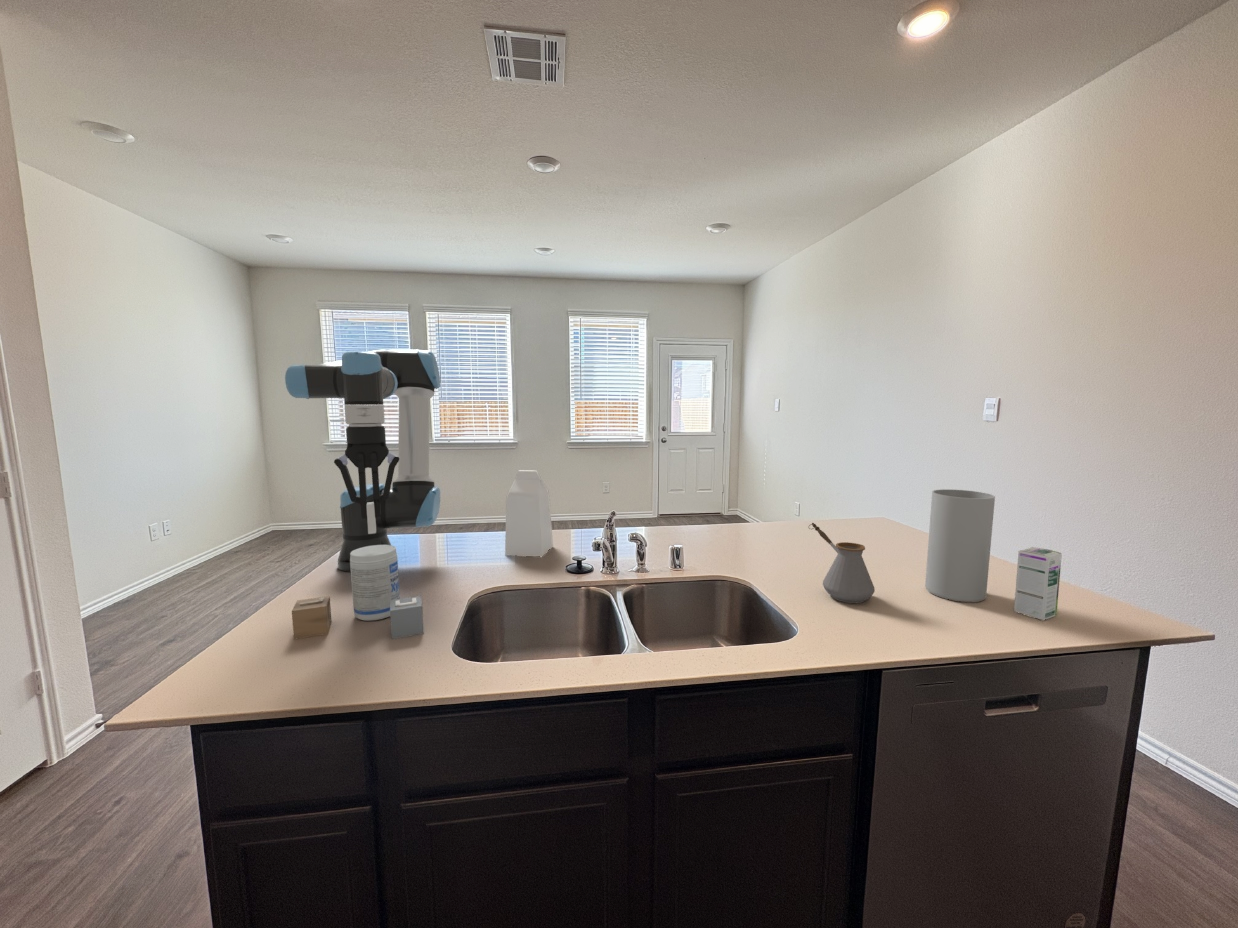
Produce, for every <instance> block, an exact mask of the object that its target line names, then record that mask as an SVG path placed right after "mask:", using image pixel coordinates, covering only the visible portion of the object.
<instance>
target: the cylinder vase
mask: <svg viewBox="0 0 1238 928" xmlns="http://www.w3.org/2000/svg"><path fill="white" fill-rule="evenodd" d="M995 499H996V495H994V494H992V493H991V494H990V493H986V492H982V491H974V490H964V489H943V488H942V489H934V490H932V491H931V502H930V503H931V504H930V515H929V531H928V541H927V542H928V543H927V544H928V545H927V557H926V568H925V569H926V572H925V584H924V587H925V589H926V590H927V591H928V592H929V593H930V594H932V595H934V596H937V597H938V596H939V598H942V599H945V600H948V599H949V601H954V602H959V601H961V602H960V603H978V602H982V601H983V600H985V599H986V598H987V589H988V581H989V579H988V578H989V570H990V569H989V567H990V557H991V546H992V535H993V524H994V523H993V522H994V513H995V512H994V511H995V501H996V500H995Z"/></svg>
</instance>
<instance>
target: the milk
mask: <svg viewBox="0 0 1238 928" xmlns="http://www.w3.org/2000/svg"><path fill="white" fill-rule="evenodd" d="M548 489H549V488H548V487H547V486H546V484H545V483H544V481H543V480H542V479H541V476H540V473H539V471H538V470H536V469H535V470H532V469H531V470H525V469H524V470H523V469H519V470H517V472H516V475H515V477H514V480H513V482H512V484H511V486H510V488H509V489H508V492H507V495H506V499H505V500H506V501H505V539H504V540H505V544H504V545H505V547H504V556H506V555H517V556H516V557H526V556H543V555H544V554H545V553H546V552H547V551H548V550H549V549H550V550H552V549H553V547H554V544H553V542H554V541H553V528H552V527H553V526H552V514H551V513H552V511H551V502H550V501H551V499H550V492H549V490H548ZM552 546H553V547H552ZM550 550H549V551H550ZM549 551H548V552H549ZM548 552H547V553H548ZM547 553H546V554H547ZM546 554H545V555H546ZM545 555H544V556H545ZM544 556H543V557H544Z"/></svg>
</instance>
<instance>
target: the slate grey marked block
mask: <svg viewBox="0 0 1238 928" xmlns="http://www.w3.org/2000/svg"><path fill="white" fill-rule="evenodd" d="M422 601H423V600H422V596H421V595H417V596H411V597H410V596H409V597H403V598H400V599H395V600H390V616H389V618H390V630H391V631H390V632H391V633H390V634H391V640H394V639H400V638H406V637H411V636H418V635H423V634H424V632H425V631H424V629H425V628H424V616H423V615H424V614H423V613H424V612H423V602H422Z"/></svg>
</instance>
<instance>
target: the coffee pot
mask: <svg viewBox="0 0 1238 928" xmlns="http://www.w3.org/2000/svg"><path fill="white" fill-rule="evenodd" d="M811 526H812V528H811ZM808 529H809V530H814V531H816V532H817V533H818V534H819V536H820V537H821V538H822V539H823V540H824V541H825V542H826V543H827V544H828V545H830V547H831V548H832V549H833V550H834V551H835V553H837V555H836V557H835V559H834V560H833V562H832V564H831V566H830V567H829V569H828V571H827V573H826V575H825V576H824V579H823V580H822V586H823V588H824V590H825V591H826V592H827V593H828V594H829V595H830V597H831V598H833V599H834V600H836V601H840V602H843V603H846V604H847V603H848V604H862V603H864V602H865V601H866V600H868V599H870V598H871V597H872V596H873V595H874V593H875V592H876V591H875V590H876V589H875V586H874V584H873V581H872V579H871V576H870V573H869V570H868V568H867V565H866V563H865V560H864V558H863V556H862V555H863V552H864V551H865V550H866V547H865V545H864V544H861V543H860V544H859V543H856V542H848V541H847V542H843V541H842V542H837V543H836V544H834V543H833V541H832V540H831V539H830V538H829V536H828V535H827V534H826V533H825V532H824V531H823V530H821V528H820V527H819V526H817V524H816V523H814V522H811V524H808Z"/></svg>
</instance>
